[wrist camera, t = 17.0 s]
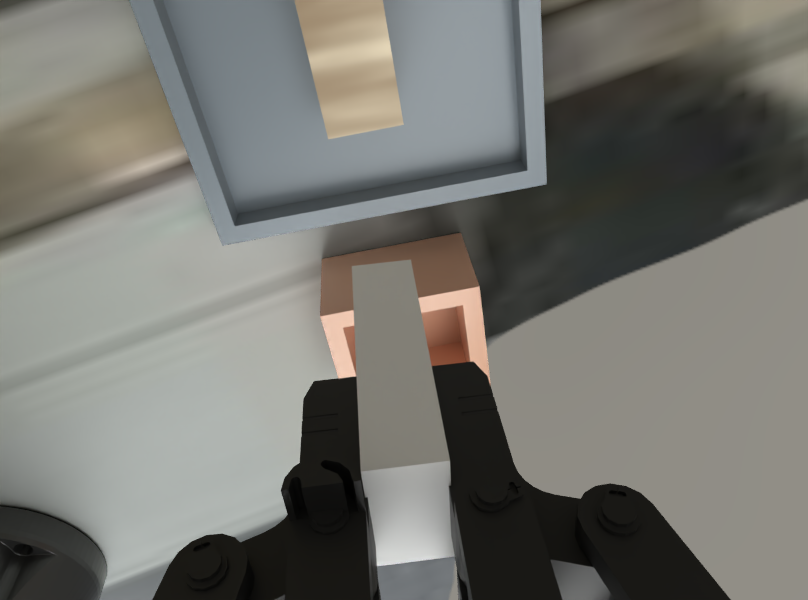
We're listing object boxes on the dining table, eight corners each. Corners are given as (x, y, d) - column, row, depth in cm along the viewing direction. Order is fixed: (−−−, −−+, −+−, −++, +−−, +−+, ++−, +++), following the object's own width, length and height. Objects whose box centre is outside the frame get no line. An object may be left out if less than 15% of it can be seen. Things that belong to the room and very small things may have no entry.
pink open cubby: (474, 341, 43) (492, 402, 38) (351, 364, 43) (353, 427, 38) (460, 232, 38) (479, 286, 33) (322, 258, 38) (320, 316, 33)
